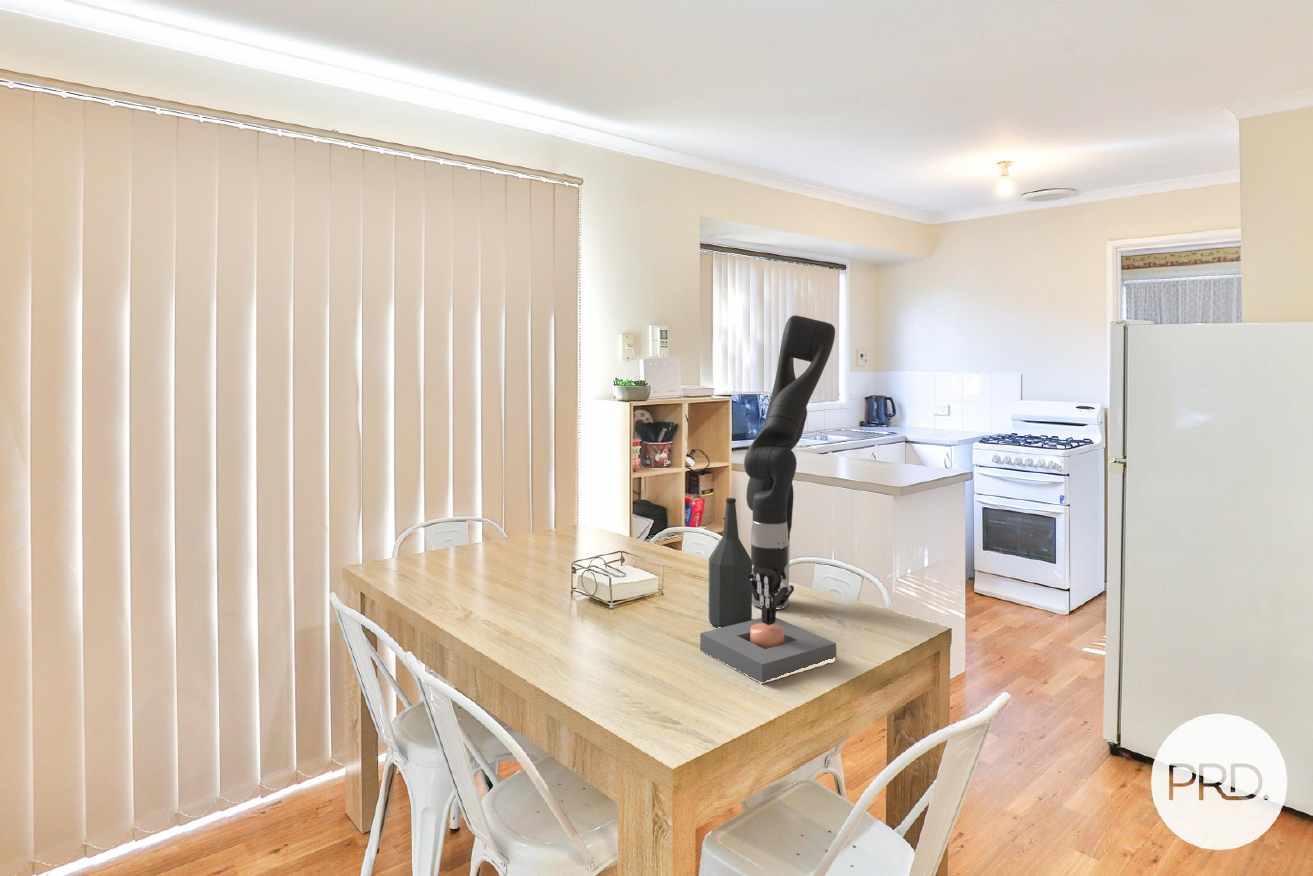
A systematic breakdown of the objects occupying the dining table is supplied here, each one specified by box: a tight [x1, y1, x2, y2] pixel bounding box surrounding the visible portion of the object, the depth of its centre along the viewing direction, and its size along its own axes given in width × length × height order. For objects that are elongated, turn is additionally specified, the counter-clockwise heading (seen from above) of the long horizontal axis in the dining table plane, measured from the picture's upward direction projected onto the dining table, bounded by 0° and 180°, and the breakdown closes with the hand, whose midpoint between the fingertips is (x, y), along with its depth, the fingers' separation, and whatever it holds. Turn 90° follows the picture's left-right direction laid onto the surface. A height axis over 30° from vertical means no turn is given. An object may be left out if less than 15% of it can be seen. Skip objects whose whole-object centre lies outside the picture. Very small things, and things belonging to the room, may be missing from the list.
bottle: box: [708, 497, 753, 628], centre depth 177 cm, size 10×10×30 cm
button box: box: [699, 617, 837, 682], centre depth 159 cm, size 20×20×4 cm
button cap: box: [750, 623, 784, 649], centre depth 158 cm, size 7×7×4 cm
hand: (768, 623), depth 158 cm, fingers closed
